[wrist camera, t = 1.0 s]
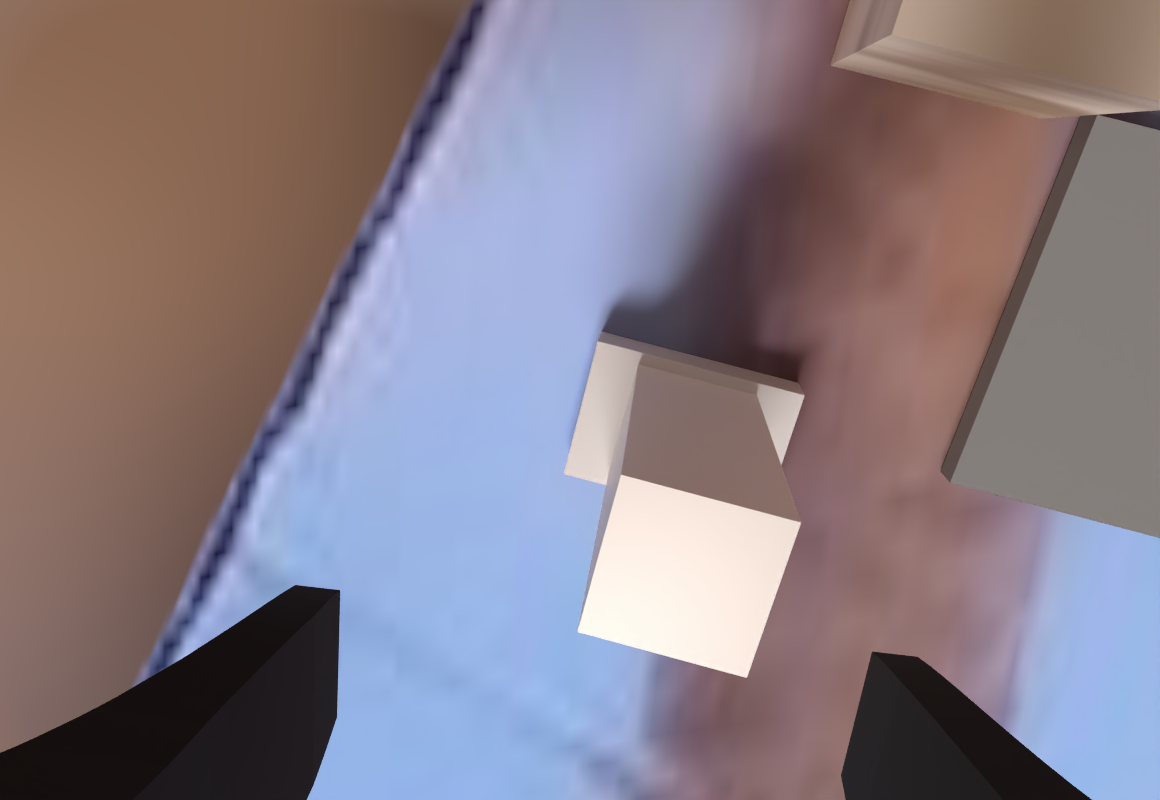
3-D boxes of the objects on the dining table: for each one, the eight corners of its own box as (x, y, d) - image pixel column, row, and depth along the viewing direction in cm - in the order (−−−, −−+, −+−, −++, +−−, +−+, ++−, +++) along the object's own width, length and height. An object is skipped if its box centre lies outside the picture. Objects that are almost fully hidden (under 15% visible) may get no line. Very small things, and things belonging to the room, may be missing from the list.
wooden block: (1071, 41, 20) (1235, -2, 14) (1041, 118, 20) (1188, 107, 14) (853, -14, 20) (928, -78, 14) (830, 65, 20) (892, 34, 15)
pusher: (797, 382, 22) (873, 523, 14) (756, 508, 23) (803, 709, 15) (601, 331, 23) (559, 440, 14) (569, 458, 24) (512, 629, 15)
